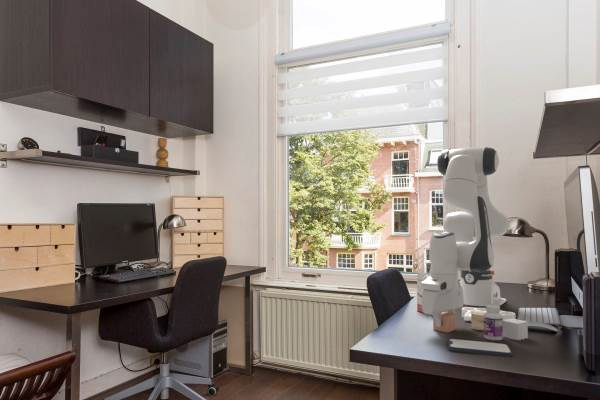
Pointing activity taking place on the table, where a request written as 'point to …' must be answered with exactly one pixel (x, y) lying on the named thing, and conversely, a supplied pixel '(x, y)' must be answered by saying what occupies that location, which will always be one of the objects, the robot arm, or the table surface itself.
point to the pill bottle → (493, 323)
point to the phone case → (479, 347)
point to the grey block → (515, 329)
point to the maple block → (477, 320)
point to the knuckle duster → (469, 310)
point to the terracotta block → (446, 322)
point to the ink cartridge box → (420, 290)
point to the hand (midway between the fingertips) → (444, 324)
